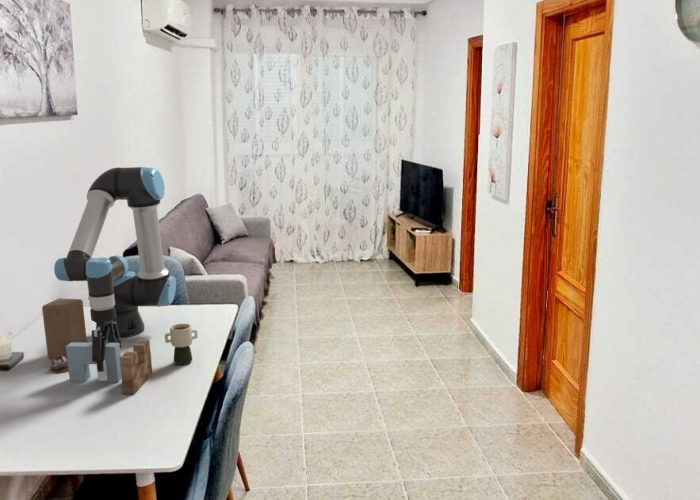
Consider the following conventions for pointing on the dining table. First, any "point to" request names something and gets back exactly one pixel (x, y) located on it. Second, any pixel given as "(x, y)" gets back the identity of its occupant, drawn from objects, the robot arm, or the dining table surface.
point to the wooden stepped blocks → (136, 367)
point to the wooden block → (63, 325)
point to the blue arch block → (82, 357)
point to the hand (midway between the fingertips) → (109, 373)
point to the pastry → (59, 365)
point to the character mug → (181, 342)
